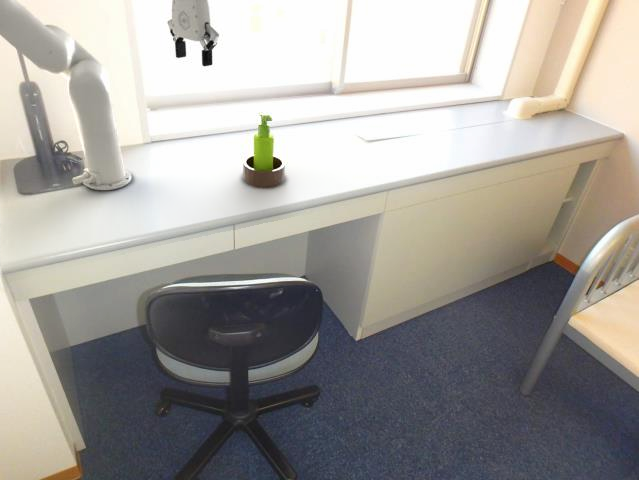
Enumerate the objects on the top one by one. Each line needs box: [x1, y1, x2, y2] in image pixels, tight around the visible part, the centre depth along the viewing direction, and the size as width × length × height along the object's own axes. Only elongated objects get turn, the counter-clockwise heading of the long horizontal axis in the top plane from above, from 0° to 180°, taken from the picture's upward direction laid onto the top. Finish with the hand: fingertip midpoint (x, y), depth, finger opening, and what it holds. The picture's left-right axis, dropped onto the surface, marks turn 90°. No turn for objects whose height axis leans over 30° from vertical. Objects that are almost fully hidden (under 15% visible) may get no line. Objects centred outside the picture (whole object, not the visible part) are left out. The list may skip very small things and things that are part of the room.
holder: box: [242, 154, 286, 189], centre depth 137 cm, size 13×13×6 cm
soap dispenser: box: [253, 112, 275, 171], centre depth 133 cm, size 6×7×20 cm
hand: (194, 61), depth 119 cm, fingers open, 9 cm apart
